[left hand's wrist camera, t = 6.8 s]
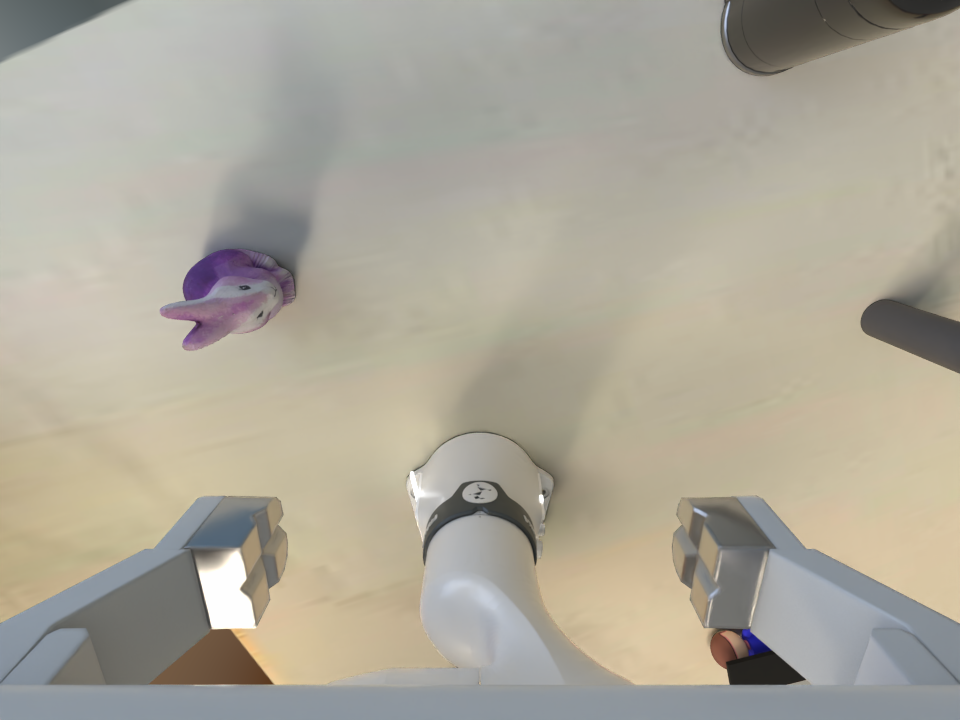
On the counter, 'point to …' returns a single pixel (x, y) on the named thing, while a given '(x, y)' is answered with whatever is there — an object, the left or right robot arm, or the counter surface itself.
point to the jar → (915, 332)
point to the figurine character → (750, 660)
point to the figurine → (230, 295)
